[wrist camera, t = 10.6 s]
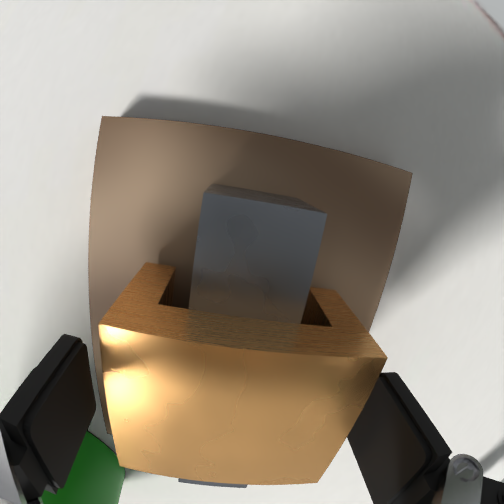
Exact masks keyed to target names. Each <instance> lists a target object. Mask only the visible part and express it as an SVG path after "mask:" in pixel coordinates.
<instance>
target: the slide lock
mask: <svg viewBox="0 0 504 504" xmlns="http://www.w3.org/2000/svg"><path fill="white" fill-rule="evenodd" d="M175 272H176V267H174V266H168V265H162V264H156V263H150V262H146V263H145V264H144V265H143V266H142V268H141V269H140V270H139V271H138V273H137V274H136V275H135V276H134V278H133V279H132V280H131V282H130V283H129V284H128V285H127V287H126V288H125V289H124V290H123V292H122V293H121V294H120V296H119V297H118V298H117V300H116V301H115V302H114V303H113V305H112V306H111V307H110V309H109V310H108V311H107V313H106V314H105V315H104V317H103V318H102V319H101V321H100V322H99V324H98V327H99V341H100V353H101V363H102V372H103V380H104V388H105V395H106V401H107V408H108V413H109V419H110V424H111V430H112V435H113V439H114V444H115V449H116V453H117V457H118V461H119V465H120V466H121V467H125V468H129V469H133V470H138V471H142V472H147V473H152V474H157V475H163V476H168V477H175V478H181V479H188V480H196V481H205V482H215V483H229V484H250V485H285V484H306V483H317V482H318V481H319V479H320V478H321V476H322V475H323V474H324V472H325V471H326V469H327V468H328V466H329V465H330V463H331V462H332V460H333V458H334V457H335V455H336V454H337V452H338V451H339V449H340V447H341V446H342V444H343V442H344V441H345V439H346V437H347V436H348V434H349V432H350V431H351V429H352V427H353V425H354V424H355V422H356V420H357V418H358V416H359V415H360V413H361V411H362V409H363V407H364V405H365V403H366V402H367V400H368V398H369V396H370V394H371V392H372V390H373V388H374V386H375V384H376V382H377V380H378V378H379V375H380V373H381V371H382V369H383V367H384V365H385V362H386V360H387V358H388V357H387V356H386V355H385V353H384V352H383V351H382V349H381V348H380V347H379V345H378V344H377V343H376V342H375V340H374V339H373V338H372V336H371V335H370V334H369V332H368V331H367V330H366V328H365V327H364V326H363V325H362V323H361V322H360V321H359V319H358V318H357V317H356V316H355V314H354V313H353V312H352V310H351V309H350V308H349V307H348V305H347V304H346V303H345V301H344V300H343V299H342V298H341V296H340V295H339V294H338V293H337V291H336V290H332V289H324V288H316V287H310V290H309V293H308V297H307V301H306V305H305V309H304V312H303V316H302V320H301V323H300V324H296V323H286V322H277V321H268V320H260V319H252V318H244V317H237V316H229V315H222V314H215V313H209V312H202V311H196V310H189V309H183V308H177V307H172V304H173V292H174V282H175Z"/></svg>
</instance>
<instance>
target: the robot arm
mask: <svg viewBox="0 0 504 504" xmlns="http://www.w3.org/2000/svg"><path fill="white" fill-rule="evenodd" d="M95 410H96V402H95V397H94V391H93V386H92V380H91V374H90V367H89V360H88V352H87V346H86V344H83V343H82V340H81V339H80V338H78V337H74V336H71V335H67V334H63V335H62V336H61V337H60V339H59V340H58V341H57V342H56V343H55V345H54V346H53V347H52V348H51V350H50V351H49V352H48V353H47V354H46V356H45V357H44V358H43V359H42V361H41V362H40V363H39V365H38V366H37V367H35V368H34V369H33V370H32V371H31V373H30V374H29V375H28V377H27V378H26V379H25V380H24V382H23V383H22V384H21V386H20V387H19V388H18V390H17V391H16V392H15V394H14V395H13V396H12V398H11V399H10V401H9V402H8V403H7V405H6V406H5V408H4V409H3V410H2V412H1V413H0V504H43V501H42V499H41V497H42V494H43V492H44V490H46V491H49V492H51V493H53V494H57V491H58V489H59V488H60V489H62V488H64V486H65V484H66V481H67V479H68V476H69V473H70V471H71V468H72V466H73V463H74V461H75V458H76V456H77V453H78V451H79V448H80V446H81V444H82V441H83V439H84V437H85V434H86V432H87V430H88V427H89V425H90V423H91V420H92V418H93V416H94V413H95ZM347 438H348V440H349V443H350V445H351V448H352V450H353V453H354V455H355V458H356V460H357V463H358V465H359V468H360V471H361V473H362V476H363V478H364V481H365V483H366V486H367V488H368V491H369V493H370V496H371V499H372V501H373V504H504V483H502V482H499V481H496V480H492V479H489V478H486V477H483V469H482V467H481V464H480V463H479V462H478V461H477V460H476V459H475V458H474V457H472V456H470V455H466V454H458V455H456V456H454V457H453V458H452V459H451V460H450V459H449V455H450V454H451V453H452V451H451V450H450V448H449V447H448V445H447V444H446V442H445V441H444V439H443V438H442V436H441V435H440V433H439V432H438V430H437V429H436V427H435V426H434V424H433V423H432V422H431V420H430V419H429V417H428V416H427V414H426V413H425V411H424V410H423V409H422V407H421V406H420V404H419V403H418V401H417V400H416V399H415V397H414V396H413V394H412V393H411V392H410V390H409V389H408V387H407V386H406V385H405V383H404V382H403V380H402V379H401V378H400V376H399V375H398V374H397V373H395V372H389V373H380V375H379V378H378V380H377V382H376V384H375V386H374V388H373V390H372V392H371V394H370V396H369V398H368V400H367V402H366V403H365V405H364V407H363V409H362V411H361V413H360V415H359V416H358V418H357V420H356V422H355V424H354V425H353V427H352V429H351V431H350V432H349V434H348V436H347Z"/></svg>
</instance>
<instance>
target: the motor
mask: <svg viewBox="0 0 504 504" xmlns="http://www.w3.org/2000/svg"><path fill="white" fill-rule="evenodd" d="M124 477H125V469H124V467H121V466H120V465H119V461H118V457H117V456H116V455H115V453H114V452H113V451H112V450H111V449H110V448H108V447H107V446H106V445H105V444H104V443H103V442H101V441H100V440H99V439H98V438H96V437H95V436H93V435H92V434H91V433H89V432H88V431H87V432H86V434H85V437H84V439H83V441H82V444H81V446H80V448H79V451H78V453H77V456H76V458H75V461H74V463H73V466H72V468H71V471H70V473H69V476H68V479H67V481H66V484H65V486H64V488H62V489H60V488H59V489H58V491H57V494H53V493H51V492H49V491H46V490H44V492H43V494H42V497H41V499H42V501H43V504H118V502H119V497H120V493H121V489H122V485H123V481H124Z"/></svg>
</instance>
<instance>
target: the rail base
mask: <svg viewBox="0 0 504 504" xmlns="http://www.w3.org/2000/svg"><path fill="white" fill-rule="evenodd" d="M411 178H412V173H411V172H408V171H405V170H402V169H399V168H396V167H393V166H389V165H386V164H383V163H380V162H377V161H373V160H370V159H367V158H363V157H360V156H356V155H352V154H349V153H345V152H341V151H338V150H334V149H330V148H326V147H322V146H318V145H313V144H309V143H305V142H300V141H296V140H291V139H287V138H282V137H277V136H272V135H267V134H261V133H256V132H250V131H245V130H239V129H232V128H226V127H219V126H212V125H205V124H197V123H188V122H179V121H170V120H159V119H146V118H131V117H110V116H102V119H101V125H100V131H99V137H98V143H97V150H96V157H95V165H94V173H93V182H92V193H91V205H90V222H89V252H88V274H89V305H90V321H91V333H92V344H93V353H94V362H95V369H96V376H97V383H98V389H99V395H100V401H101V406H102V412H103V417H104V421H105V426H106V431H107V433H108V434H112V430H111V424H110V419H109V413H108V408H107V401H106V395H105V388H104V380H103V372H102V363H101V353H100V341H99V327H98V324H99V322H100V321H101V319H102V318H103V317H104V315H105V314H106V313H107V311H108V310H109V309H110V307H111V306H112V305H113V303H114V302H115V301H116V300H117V298H118V297H119V296H120V294H121V293H122V292H123V290H124V289H125V288H126V287H127V285H128V284H129V283H130V282H131V280H132V279H133V278H134V276H135V275H136V274H137V273H138V271H139V270H140V269H141V268H142V266H143V265H144V264H145V263H146V262H150V263H156V264H162V265H168V266H174V267H176V272H175V282H174V292H173V304H172V307H177V308H183V309H189V300H190V291H191V282H192V273H193V265H194V257H195V249H196V241H197V234H198V227H199V219H200V212H201V206H202V199H203V193H204V191H205V190H206V189H207V188H208V187H209V186H210V185H211V184H212V183H213V184H219V185H226V186H232V187H238V188H244V189H250V190H256V191H262V192H268V193H273V194H279V195H284V196H289V197H295V198H298V199H300V200H302V201H304V202H306V203H308V204H310V205H312V206H314V207H316V208H317V209H319V210H321V211H323V212H325V213H327V218H326V222H325V227H324V231H323V236H322V240H321V245H320V249H319V253H318V257H317V262H316V266H315V270H314V274H313V278H312V282H311V286H310V287H316V288H324V289H332V290H336V291H337V293H338V294H339V295H340V296H341V298H342V299H343V300H344V301H345V303H346V304H347V305H348V307H349V308H350V309H351V310H352V312H353V313H354V314H355V316H356V317H357V318H358V319H359V321H360V322H361V323H362V325H363V326H364V327H365V328H366V330H367V331H368V332H369V330H370V327H371V325H372V322H373V319H374V316H375V313H376V310H377V307H378V304H379V301H380V298H381V295H382V292H383V289H384V286H385V283H386V280H387V276H388V273H389V270H390V266H391V263H392V259H393V256H394V252H395V248H396V244H397V241H398V237H399V233H400V229H401V225H402V220H403V216H404V212H405V207H406V203H407V198H408V193H409V188H410V183H411Z"/></svg>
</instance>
